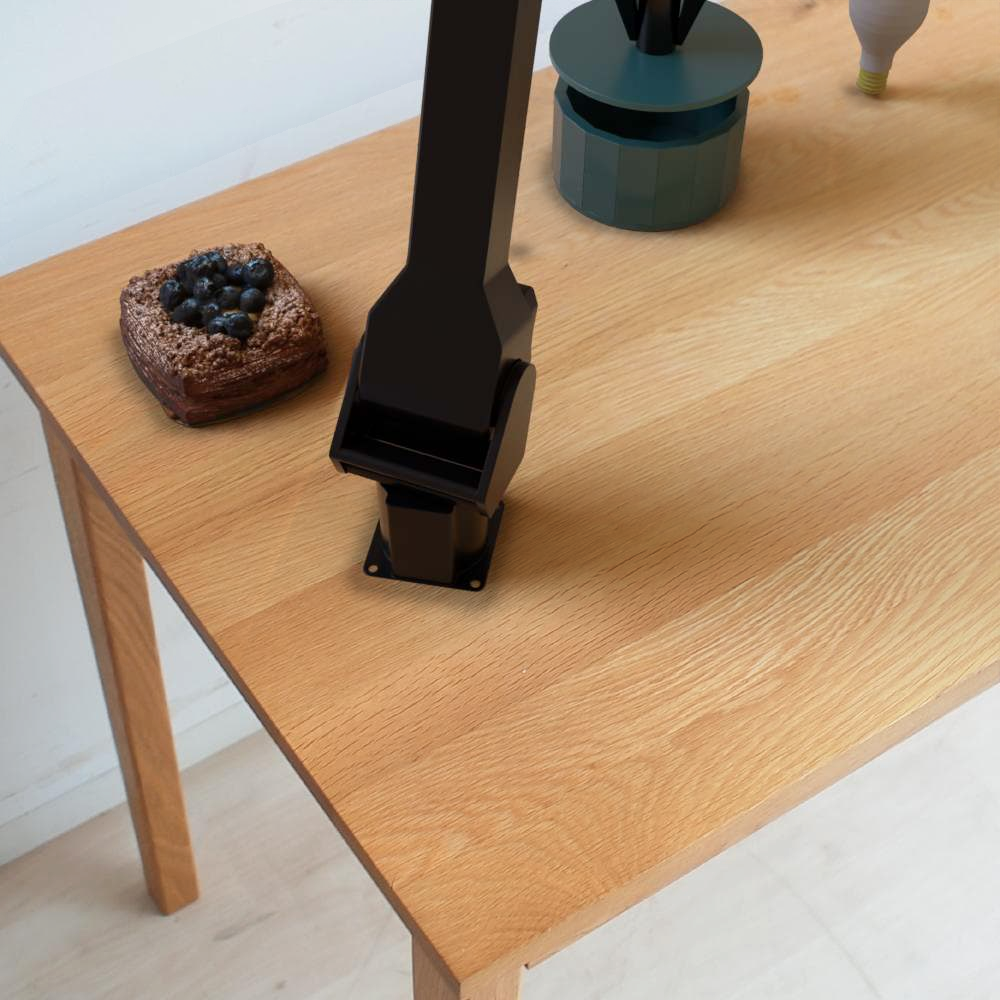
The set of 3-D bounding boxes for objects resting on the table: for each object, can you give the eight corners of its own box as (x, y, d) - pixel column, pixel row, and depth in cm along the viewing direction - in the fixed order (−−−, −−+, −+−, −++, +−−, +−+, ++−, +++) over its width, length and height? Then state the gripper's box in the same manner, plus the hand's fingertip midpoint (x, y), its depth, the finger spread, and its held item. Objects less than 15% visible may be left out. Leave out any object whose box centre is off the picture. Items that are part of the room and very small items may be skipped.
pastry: (181, 445, 82) (163, 370, 78) (103, 326, 89) (82, 250, 85) (352, 375, 86) (344, 299, 82) (265, 265, 93) (253, 190, 88)
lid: (753, 131, 87) (766, 48, 83) (532, 108, 89) (533, 25, 85) (767, 16, 96) (779, -64, 92) (566, -4, 98) (569, -83, 94)
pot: (728, 241, 95) (741, 158, 90) (538, 219, 96) (540, 136, 91) (743, 132, 103) (755, 50, 98) (568, 113, 104) (571, 31, 99)
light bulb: (817, 83, 107) (841, -45, 99) (878, 66, 108) (906, -62, 101) (859, 121, 104) (887, -8, 96) (922, 103, 105) (954, -26, 98)
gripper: (854, -259, 84) (810, -10, 96) (538, -282, 86) (533, -36, 98) (848, -178, 77) (802, 81, 88) (504, -205, 79) (503, 50, 91)
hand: (656, 39), depth 92 cm, fingers closed on lid, 2 cm apart
